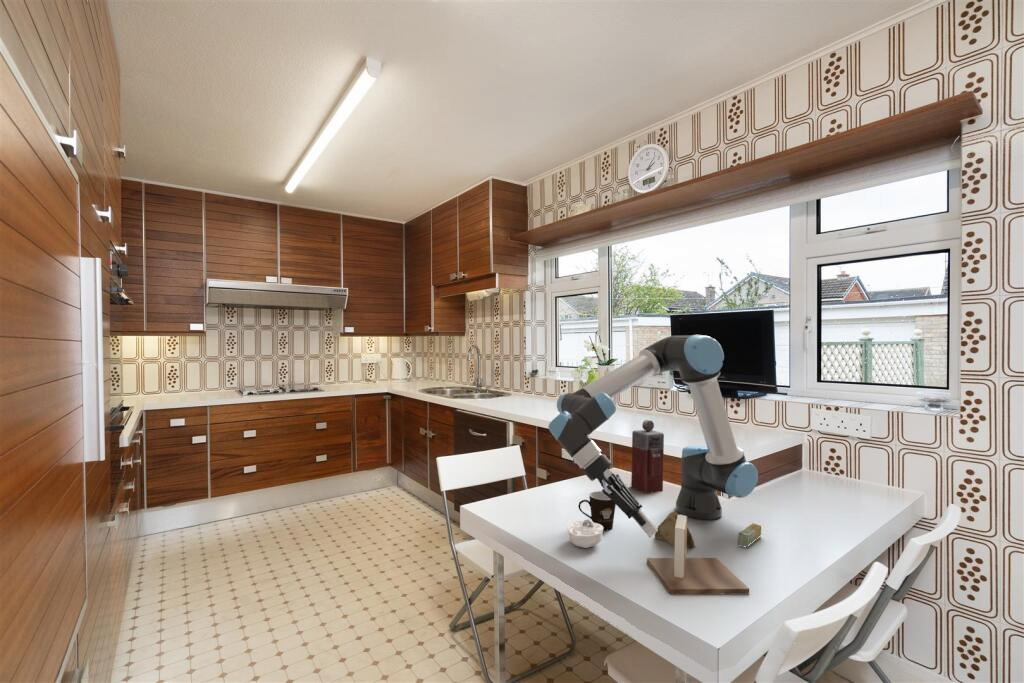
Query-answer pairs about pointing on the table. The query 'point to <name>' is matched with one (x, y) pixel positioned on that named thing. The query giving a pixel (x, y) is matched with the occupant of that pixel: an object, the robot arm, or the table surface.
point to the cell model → (585, 533)
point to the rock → (671, 531)
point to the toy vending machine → (647, 459)
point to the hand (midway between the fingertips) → (653, 533)
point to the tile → (680, 546)
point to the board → (697, 577)
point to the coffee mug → (600, 509)
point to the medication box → (749, 534)
